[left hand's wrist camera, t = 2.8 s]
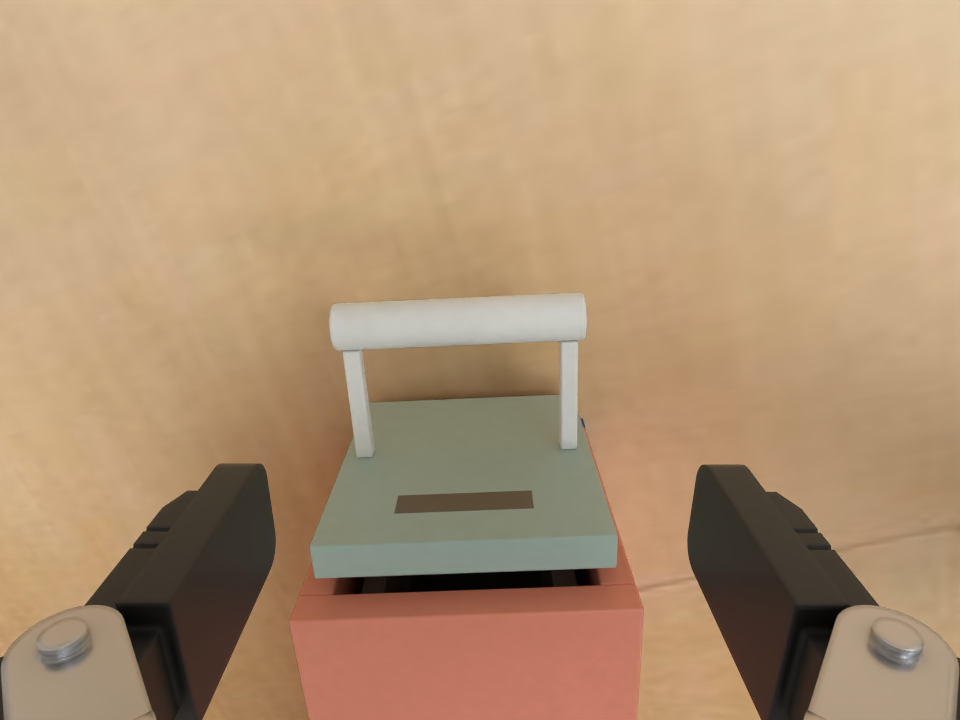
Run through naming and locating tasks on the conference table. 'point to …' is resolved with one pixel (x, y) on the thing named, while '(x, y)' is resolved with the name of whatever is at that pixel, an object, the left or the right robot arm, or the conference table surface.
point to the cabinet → (472, 649)
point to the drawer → (464, 460)
